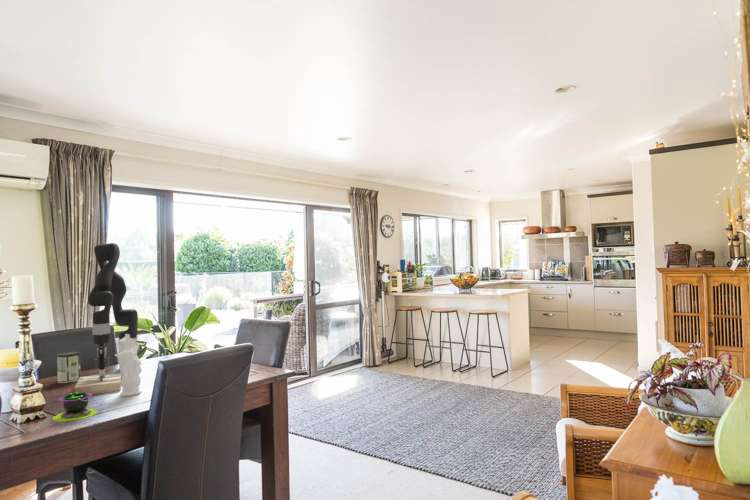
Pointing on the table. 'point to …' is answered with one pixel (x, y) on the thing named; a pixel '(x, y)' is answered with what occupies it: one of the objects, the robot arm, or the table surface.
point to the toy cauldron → (75, 407)
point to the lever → (102, 372)
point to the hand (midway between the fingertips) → (102, 368)
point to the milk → (126, 347)
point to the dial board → (99, 384)
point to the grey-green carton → (68, 367)
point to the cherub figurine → (130, 372)
